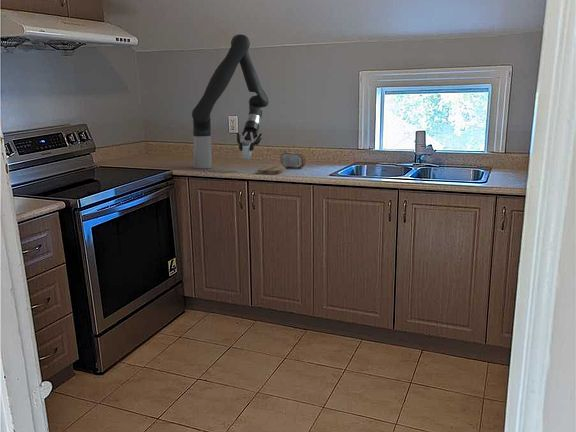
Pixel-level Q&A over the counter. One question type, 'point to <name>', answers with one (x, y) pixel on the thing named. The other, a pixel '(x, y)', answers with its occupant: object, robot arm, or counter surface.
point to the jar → (246, 151)
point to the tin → (292, 160)
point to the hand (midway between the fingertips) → (245, 149)
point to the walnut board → (271, 170)
